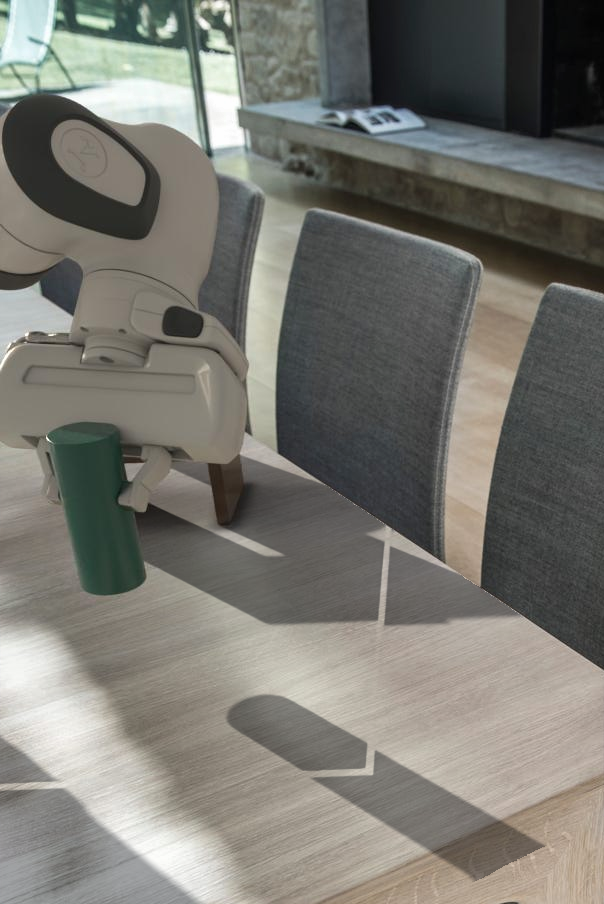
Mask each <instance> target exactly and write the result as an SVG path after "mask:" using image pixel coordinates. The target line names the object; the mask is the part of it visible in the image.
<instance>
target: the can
mask: <svg viewBox="0 0 604 904" xmlns="http://www.w3.org/2000/svg"><path fill="white" fill-rule="evenodd" d="M46 439H47V444H48V448H49V452H50V456H51V461H52V465H53V469H54V473H55V478H56V482H57V486H58V490H59V495H60V499H61V503H62V505H61V507H62V512H63V515H64V520H65V525H66V529H67V533H68V537H69V543H70V545H71V550H72V554H73V558H74V563H75V566H76V571H77V576H78V580H79V583H80V587H81V589H82V590H83V591H84V592H86V593H87V594H90V595H95V596H115V595H122V594H125V593H128V592H132V591H133V590H135V589H138V588H139V587H141V586H142V585H143V584H144V583H145V582H146V580H147V577H148V575H147V570H146V565H145V560H144V555H143V550H142V546H141V541H140V535H139V531H138V525H137V521H136V515H135V511H128V510H125V509H124V508H123V507H121V506H120V505H119V504H118V495H119V494H120V493H121V491H120V487H121V484H122V481H129V480H128V475H127V470H126V466H125V464H124V460H123V455H122V450H121V444H120V439H119V434H118V430H117V427H116V426H114V425H113V424H110V423H97V422H78V423H72V424H68V425H64V426H61V427H58V428H56V429H54V430H52V431H50V432H49V433H48V434H47V437H46Z"/></svg>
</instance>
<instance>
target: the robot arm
mask: <svg viewBox="0 0 604 904" xmlns="http://www.w3.org/2000/svg"><path fill="white" fill-rule="evenodd" d="M219 211H220V190H219V182H218V177H217V173H216V169H215V167H214V165H213V162H212V161H211V159H210V156H209V155H208V154H207V153H206V152H205V151H204V149H203V148H202V147H201V146H200V145H199V144H198V143H196V142H195V140H193V139H192V138H190V137H189V136H188V135H186V134H185V133H183V132H181V131H180V130H178V129H176V128H173V127H172V126H169V125H166V124H164V123H163V124H162V123H157V122H143V123H137V124H128V123H127V124H126V123H121V122H117V121H114V120H109V119H107V118H104V117H101V116H98V115H97V114H96V113H94V112H93V111H91V110H90V109H89V108H88V107H86V106H84V105H82V104H81V103H79V102H77V101H76V100H73V99H71V98H68V97H65V96H62V95H58V94H53V93H38V94H32V95H29V96H27V97H26V96H25V98H22V99H21V100H19V101H18V102H16V103H15V104H14V105H13V106H12V107H10V108H9V109H8V110H6V112H4V113H3V114H2V115H1V116H0V290H1V291H19V290H20V291H21V290H24V289H28V288H30V287H32V286H35V285H36V284H37V283H39V282H41V280H42V279H43V278H45V277H46V276H47V275H48V274H49V273H50V272H51V271H53V270H54V269H55V268H56V267H57V266H58V265H59V263H60V262H62V261H63V260H65V259H70V261H71V260H72V261H73V262H75V263H77V264H78V265H79V267H80V268H81V271H82V276H83V277H82V280H81V284H80V290H79V293H78V296H77V301H76V305H75V309H74V313H73V317H72V321H71V325H70V329H69V332H44V331H40V330H32V331H28V332H26V333H25V336H21V337H19V338H17V339H16V340H15V341H11V342H10V343H9V345H8V346H7V347H6V350H5V353H4V358H3V359H2V362H1V364H0V442H1V443H2V444H4V445H5V446H6V447H8V448H11V449H23V450H36V455H37V459H38V460H39V464H40V467H41V470H42V473H43V475H44V478H43V482H42V487H41V491H40V495H41V499H42V500H44V501H45V502H47V503H48V504H50V505H57V506H62V503H61V499H60V495H59V490H58V486H57V482H56V478H55V473H54V469H53V465H52V461H51V456H50V452H49V448H48V444H47V439H46V437H47V434H48V433H49V432H50V431H52V430H54V429H56V428H58V427H61V426H64V425H68V424H72V423H78V422H97V423H110V424H113V425H114V426H116V427H117V430H118V434H119V439H120V444H121V450H122V455H123V456H125V457H138V458H141V459H142V460H143V461H144V462H145V463H143V465H142V466H141V468H140V469H139V471H138V472H137V473H136V475H135V476H134V477H133V478H132V479H131V481H130V480H128V481H122V484H121V487H120V491H121V493H120V494H119V495H118V504H119V505H120V506H121V507H123V508H124V509H125V510H128V511H134V512H137V513H145V512H146V511H147V508H148V504H149V499H150V495H151V492H153V491H154V490H155V489H156V488H157V487H158V486H159V485H160V483H162V481H163V480H164V479H165V478H166V477H167V476H168V475H169V474H170V471H171V467H172V463H173V462H172V460H178V461H179V462H191V463H205V464H207V463H217V464H228V463H229V462H231V461H232V460H233V459H234V458H235V457H236V456H237V455H238V454H239V453H240V454H241V450H242V447H243V443H244V438H245V433H246V425H247V417H248V402H249V400H248V393H247V390H246V387H245V386H244V385H243V383H242V382H243V381H245V379H246V378H247V376H248V373H249V367H250V364H249V362H250V361H249V360H248V358H247V356H246V354H245V352H244V351H243V349H242V348H241V346H240V345H239V343H238V341H237V340H236V339H235V338H234V336H233V335H232V334H231V333H230V332H229V331H228V329H227V328H226V327H225V326H224V325H223V324H222V323H221V322H220V321H219V320H218V319H217V317H215V316H214V315H211V314H209V313H206V312H203V311H201V310H200V308H199V292H200V288H201V286H202V284H203V282H204V281H205V279H206V278H207V276H208V273H209V270H210V267H211V263H212V262H211V261H212V257H213V252H214V248H215V243H216V236H217V230H218V223H219Z"/></svg>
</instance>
